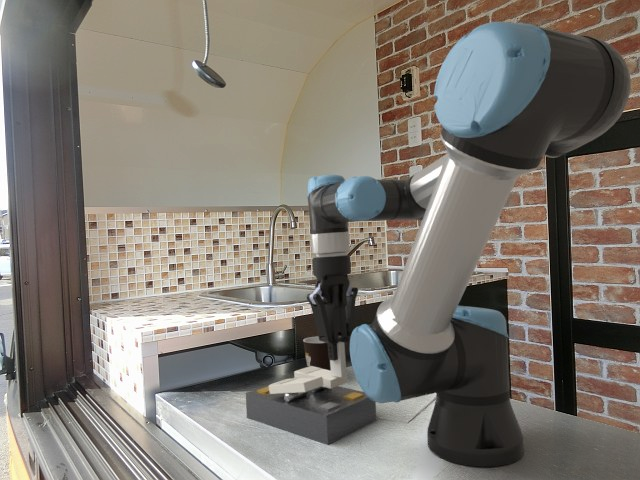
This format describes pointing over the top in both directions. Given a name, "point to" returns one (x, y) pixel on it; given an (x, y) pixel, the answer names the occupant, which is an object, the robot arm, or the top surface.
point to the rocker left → (295, 385)
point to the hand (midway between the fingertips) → (338, 375)
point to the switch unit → (313, 411)
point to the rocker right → (325, 374)
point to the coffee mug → (316, 353)
